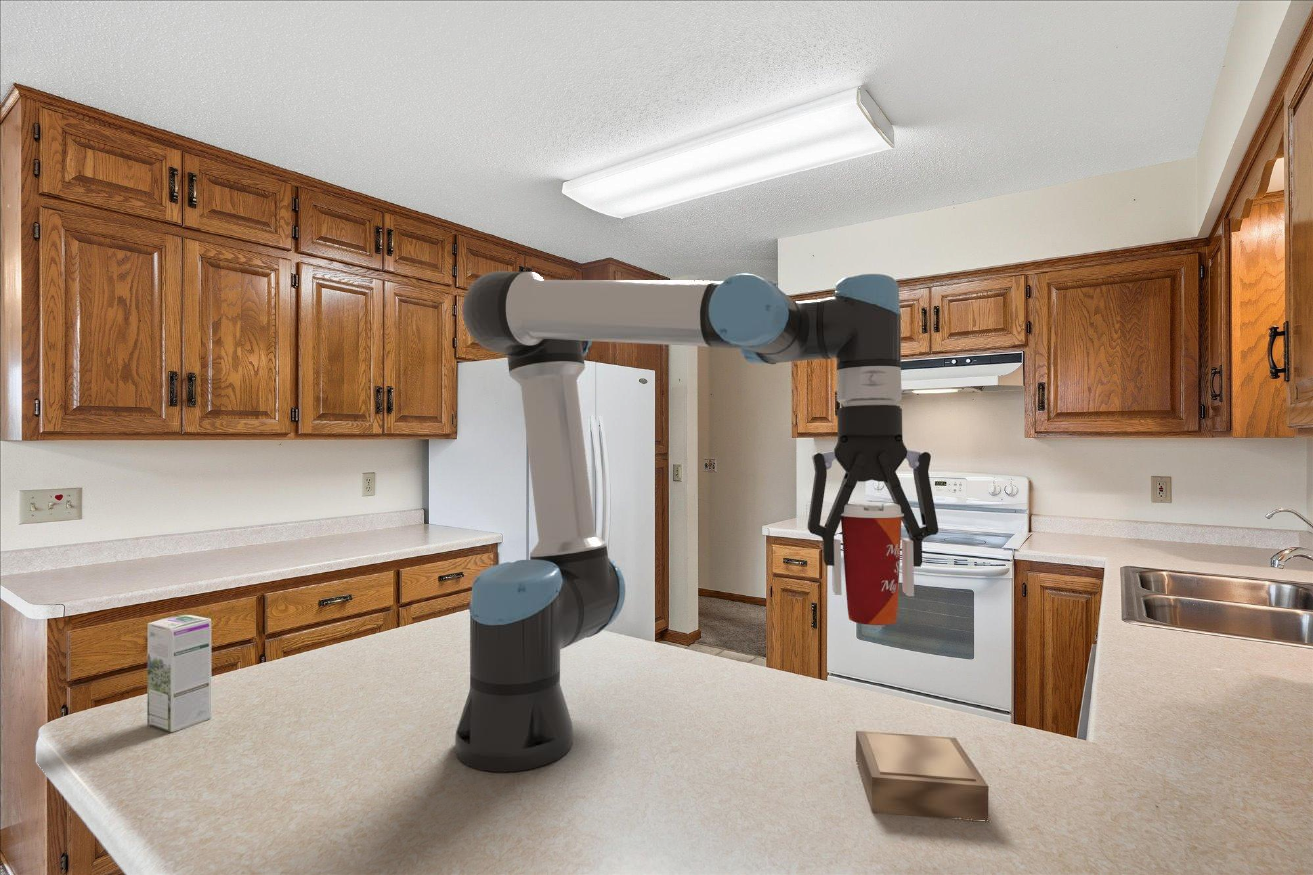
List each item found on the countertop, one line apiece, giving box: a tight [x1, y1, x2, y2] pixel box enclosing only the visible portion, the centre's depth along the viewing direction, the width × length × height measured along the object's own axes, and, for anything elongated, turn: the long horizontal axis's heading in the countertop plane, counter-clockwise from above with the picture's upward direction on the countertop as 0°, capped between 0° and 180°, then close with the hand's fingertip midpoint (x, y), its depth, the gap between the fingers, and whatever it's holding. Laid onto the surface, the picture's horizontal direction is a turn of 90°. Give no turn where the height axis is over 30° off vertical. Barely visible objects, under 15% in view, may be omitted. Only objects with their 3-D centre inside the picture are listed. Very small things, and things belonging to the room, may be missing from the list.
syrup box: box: [146, 614, 212, 733], centre depth 95 cm, size 6×6×14 cm
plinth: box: [855, 730, 989, 821], centre depth 79 cm, size 12×12×4 cm
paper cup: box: [840, 501, 904, 626], centre depth 82 cm, size 8×8×14 cm
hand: (872, 592), depth 82 cm, fingers closed on paper cup, 8 cm apart
